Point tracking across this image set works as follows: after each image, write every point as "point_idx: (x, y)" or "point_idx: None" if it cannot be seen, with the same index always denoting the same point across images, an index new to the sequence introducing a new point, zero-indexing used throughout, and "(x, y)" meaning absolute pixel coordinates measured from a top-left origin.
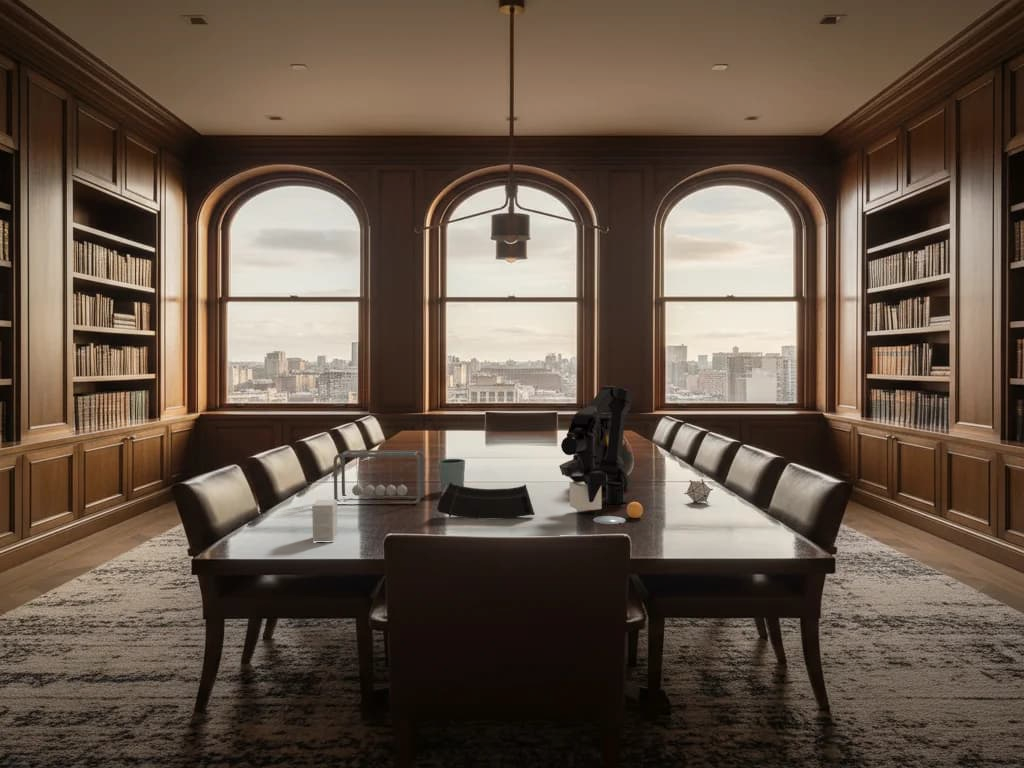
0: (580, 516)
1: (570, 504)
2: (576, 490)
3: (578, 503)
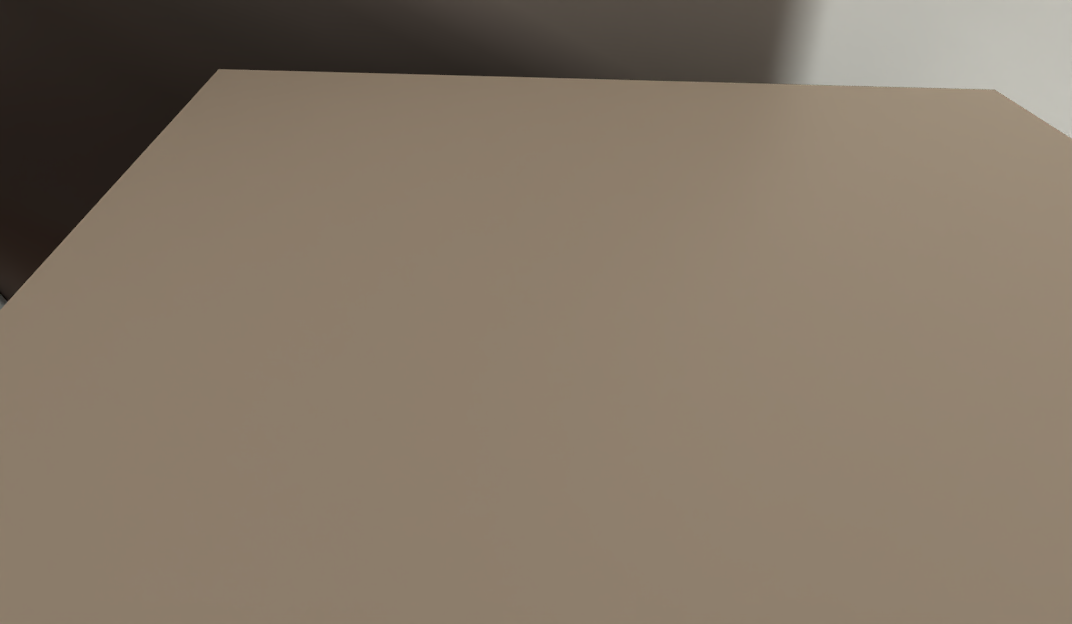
0: (291, 44)
1: (965, 111)
2: (493, 538)
3: (299, 153)
